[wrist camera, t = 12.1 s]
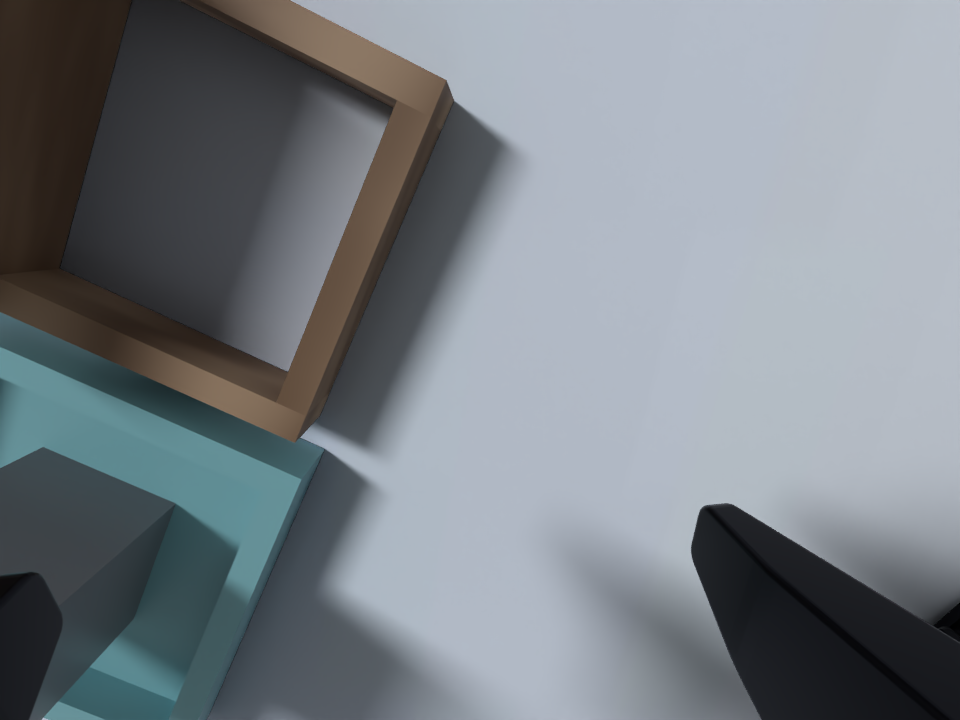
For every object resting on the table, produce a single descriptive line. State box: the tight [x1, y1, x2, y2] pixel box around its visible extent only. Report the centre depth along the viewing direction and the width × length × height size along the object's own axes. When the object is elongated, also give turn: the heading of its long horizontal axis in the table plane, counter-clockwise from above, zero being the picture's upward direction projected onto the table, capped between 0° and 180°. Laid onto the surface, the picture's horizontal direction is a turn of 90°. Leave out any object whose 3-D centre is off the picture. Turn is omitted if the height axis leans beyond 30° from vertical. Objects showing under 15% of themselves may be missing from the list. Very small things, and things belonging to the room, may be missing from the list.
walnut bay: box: [0, 0, 454, 443], centre depth 14 cm, size 11×12×8 cm
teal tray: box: [0, 312, 324, 720], centre depth 20 cm, size 13×14×2 cm
